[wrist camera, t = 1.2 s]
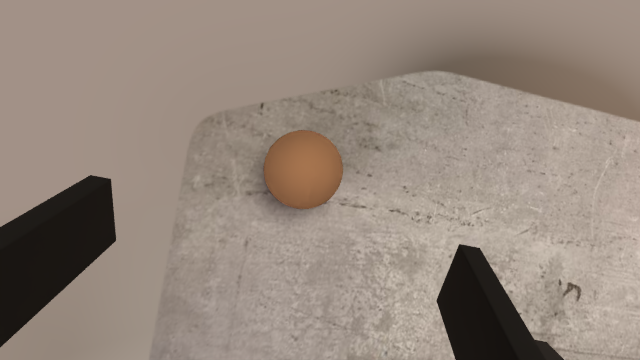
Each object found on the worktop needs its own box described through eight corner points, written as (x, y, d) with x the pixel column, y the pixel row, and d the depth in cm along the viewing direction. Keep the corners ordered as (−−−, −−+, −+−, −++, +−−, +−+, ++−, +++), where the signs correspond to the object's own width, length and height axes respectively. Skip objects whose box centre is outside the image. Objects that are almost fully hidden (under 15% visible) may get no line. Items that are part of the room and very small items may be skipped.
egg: (339, 147, 33) (364, 136, 25) (322, 212, 33) (342, 223, 25) (273, 128, 32) (277, 110, 24) (255, 195, 32) (253, 201, 24)
